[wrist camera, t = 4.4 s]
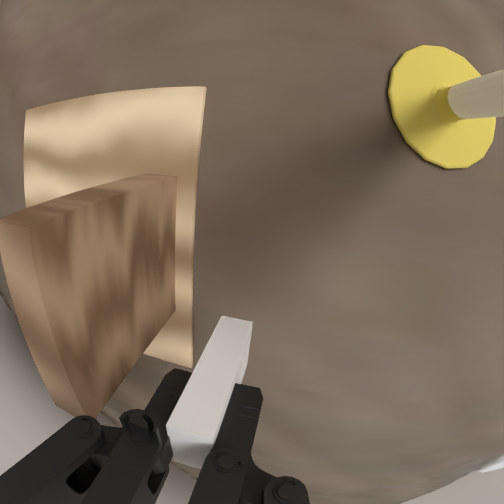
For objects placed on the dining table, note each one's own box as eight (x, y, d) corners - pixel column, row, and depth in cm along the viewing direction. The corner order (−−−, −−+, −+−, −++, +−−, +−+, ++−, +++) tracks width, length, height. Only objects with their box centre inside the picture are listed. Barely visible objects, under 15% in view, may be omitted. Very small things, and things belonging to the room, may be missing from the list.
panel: (143, 173, 21) (-7, 219, 9) (177, 176, 21) (28, 228, 8) (146, 302, 26) (54, 404, 13) (175, 310, 26) (90, 425, 13)
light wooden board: (28, 109, 22) (26, 110, 21) (206, 87, 19) (204, 86, 18) (47, 312, 31) (45, 313, 31) (192, 365, 28) (191, 368, 28)
